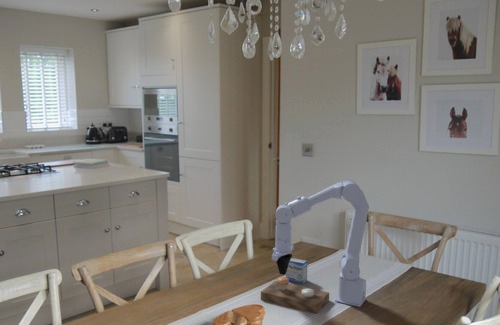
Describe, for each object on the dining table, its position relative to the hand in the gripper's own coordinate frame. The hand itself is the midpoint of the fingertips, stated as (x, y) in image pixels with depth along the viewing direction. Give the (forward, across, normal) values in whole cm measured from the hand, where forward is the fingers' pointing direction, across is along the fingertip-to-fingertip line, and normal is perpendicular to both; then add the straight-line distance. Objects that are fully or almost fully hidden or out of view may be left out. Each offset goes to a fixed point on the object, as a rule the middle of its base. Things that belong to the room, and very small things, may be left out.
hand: (282, 273), depth 162 cm
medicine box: (+9, -17, -2) cm, 19 cm away
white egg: (+9, 0, +10) cm, 13 cm away
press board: (+9, 0, +5) cm, 10 cm away
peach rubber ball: (+6, 0, 0) cm, 6 cm away
